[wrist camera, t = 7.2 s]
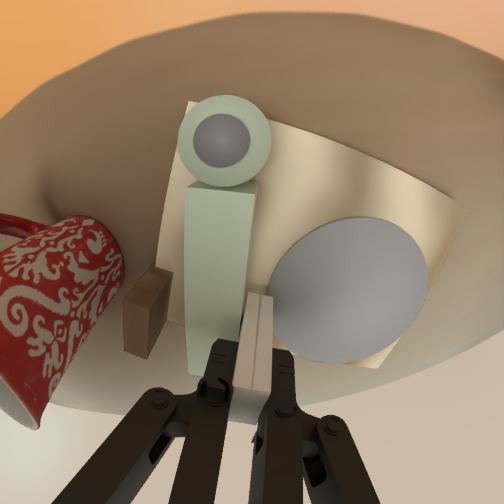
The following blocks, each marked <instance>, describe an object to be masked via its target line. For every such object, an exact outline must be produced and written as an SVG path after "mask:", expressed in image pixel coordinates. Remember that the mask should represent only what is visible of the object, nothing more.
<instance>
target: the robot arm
mask: <svg viewBox="0 0 504 504" xmlns="http://www.w3.org/2000/svg"><path fill="white" fill-rule="evenodd" d="M272 339H273V297H271V296H266V295H261V294H256V293H251V292H248V294H247V299H246V303H245V308H244V312H243V317H242V322H241V328H240V334H239V340H238V342H235V341H230V340H225V339H221V338H218V339H217V340H216V341H215V342H214V343H213V344H212V347H211V351H210V354H209V358H208V362H207V365H206V369H205V372H204V376H203V378H201V379H200V381H199V383H198V388H197V390H196V391H195V392H193V393H190V394H186V395H173V393H171V392H170V391H169V390H167V389H164V388H152V389H149V390H148V391H146V392H145V393H144V394H143V395H142V397H141V398H140V399H139V400H138V401H137V403H136V404H135V405H134V406H133V407H132V409H131V410H130V411H129V412H128V413H127V415H126V416H125V417H124V418H123V420H122V421H121V422H120V423H119V424H118V425H117V427H116V428H115V429H114V430H113V432H112V433H111V434H110V435H109V436H108V438H107V439H106V440H105V441H104V442H103V443H102V445H101V446H100V447H99V448H98V449H97V450H96V452H95V453H94V454H93V455H92V456H91V458H90V459H89V460H88V461H87V462H86V463H85V465H84V466H83V467H82V468H81V470H80V471H79V472H78V473H77V474H76V475H75V476H74V478H73V479H72V480H71V481H70V482H69V483H68V485H67V486H66V487H65V488H64V489H63V491H62V492H61V493H60V494H59V495H58V496H57V498H56V499H55V500H54V501H53V502H52V504H130V503H131V502H132V500H133V499H134V498H135V496H136V495H137V493H138V492H139V491H140V489H141V488H142V486H143V484H144V483H145V482H146V480H147V479H148V477H149V476H150V475H151V473H152V472H153V470H154V469H155V467H156V466H157V464H158V463H159V461H160V460H161V458H162V457H163V455H164V454H165V452H166V451H167V449H168V448H169V446H170V445H171V443H172V442H173V440H174V439H175V437H185V441H184V445H183V449H182V452H181V456H180V460H179V464H178V468H177V472H176V475H175V479H174V484H173V487H172V491H171V495H170V499H169V503H168V504H214V500H215V494H216V488H217V481H218V476H219V469H220V464H221V458H222V452H223V446H224V440H225V434H226V428H227V422H228V421H234V422H239V423H246V424H252V425H256V424H257V422H258V428H257V431H256V433H255V435H254V437H253V439H252V443H254V449H253V460H252V471H251V481H250V492H249V502H248V504H303V478H304V481H305V484H306V487H307V490H308V494H309V497H310V500H311V503H312V504H380V502H379V499H378V497H377V494H376V492H375V490H374V487H373V485H372V482H371V480H370V478H369V475H368V473H367V471H366V469H365V466H364V464H363V461H362V459H361V457H360V454H359V452H358V450H357V447H356V445H355V443H354V440H353V438H352V436H351V434H350V431H349V429H348V427H347V425H346V423H345V422H344V420H343V419H341V418H340V417H338V416H335V415H327V416H324V417H322V418H321V419H320V418H317V417H314V416H312V415H309V414H307V413H305V412H304V411H302V410H301V409H300V408H299V406H298V404H297V402H296V392H295V375H294V374H295V371H294V358H293V356H292V354H291V353H290V351H289V350H283V349H277V348H272Z"/></svg>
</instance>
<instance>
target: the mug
mask: <svg viewBox="0 0 504 504" xmlns="http://www.w3.org/2000/svg"><path fill="white" fill-rule="evenodd" d="M0 234H5V235H10V236H15V237H19V238H21V239H24V240H22V241H20V242H18V243H16V244H15V245H13V246H11V247H9V248H7V249H5V250H4V251H2V252H0V409H2V410H3V411H4V412H5V413H6V414H8V415H9V416H10V417H12V418H13V419H14V420H16V421H17V422H19V423H20V424H22V425H24V426H25V427H28V428H30V429H33V430H38V429H39V428H40V420H41V416H42V413H43V411H44V409H45V407H46V405H47V403H48V402H49V400H50V398H51V396H52V394H53V392H54V390H55V389H56V387H57V385H58V383H59V382H60V380H61V378H62V376H63V375H64V373H65V371H66V369H67V368H68V366H69V364H70V363H71V361H72V360H73V357H74V356H75V354H76V352H77V351H78V349H79V347H80V346H81V344H82V343H83V341H84V340H85V338H86V337H87V335H88V334H89V332H90V330H91V329H92V327H93V326H94V325H95V323H96V321H97V320H98V318H99V317H100V315H101V314H102V312H103V311H104V309H105V308H106V306H107V305H108V304H109V302H110V301H111V300H112V298H113V297H114V295H115V294H116V293H117V291H118V290H119V288H120V286H121V284H122V281H123V278H124V263H123V258H122V255H121V252H120V249H119V247H118V245H117V243H116V242H115V240H114V238H113V237H112V235H111V234H110V233H109V232H108V231H107V230H106V229H105V228H104V227H103V226H102V225H101V224H100V223H98V222H97V221H95V220H93V219H91V218H88V217H85V216H72V217H69V218H66V219H64V220H62V221H60V222H58V223H56V224H54V225H52V226H48V225H44V224H40V223H37V222H33V221H31V220H28V219H24V218H20V217H16V216H12V215H7V214H2V213H0Z"/></svg>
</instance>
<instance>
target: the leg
mask: <svg viewBox="0 0 504 504" xmlns="http://www.w3.org/2000/svg"><path fill="white" fill-rule="evenodd" d="M271 143H272V137H271V130H270V126H269V124H268V121H267V119H266V117H265V116H264V114H263V113H262V112H261V110H260V109H259V108H258V107H257V106H255V105H254V104H253V103H251V102H250V101H248V100H246V99H243V98H241V97H237V96H232V95H219V96H214V97H210V98H207V99H205V100H203V101H201V102H200V103H198V104H197V105H195V106H194V107H193V108H192V109H191V110H190V111H189V112H188V113H187V115H186V116H185V118H184V119H183V121H182V123H181V126H180V129H179V132H178V151H179V155H180V158H181V160H182V162H183V164H184V166H185V167H186V169H187V170H188V171H189V172H190V173H191V174H192V175H193V176H194V177H196V178H197V179H198V180H197V181H195V182H194V183H192V184H190V185H189V186H187V187H186V195H185V224H184V300H185V329H186V348H187V363H188V374H192V375H197V376H204V372H205V369H206V365H207V362H208V358H209V354H210V351H211V347H212V344H213V343H214V342H215V341H216V340H217V339H218V338H221V339H225V340H230V341H235V342H238V340H239V334H240V328H241V322H242V317H243V309H244V301H245V292H246V284H247V275H248V267H249V258H250V249H251V241H252V232H253V224H254V215H255V207H256V198H257V190H258V182H251V181H248V180H249V179H251V178H252V177H254V176H255V175H256V174H257V173H258V172H259V171H260V170H261V169H262V167H263V166H264V164H265V163H266V161H267V159H268V157H269V154H270V150H271Z"/></svg>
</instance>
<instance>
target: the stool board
mask: <svg viewBox="0 0 504 504" xmlns="http://www.w3.org/2000/svg"><path fill="white" fill-rule="evenodd" d="M197 104H198V103H197V102H192V101H189V102H188V106H187V109H186V113H185V116H186V115H187V113H188V112H189V111H190V110H191V109H192V108H193V107H194V106H195V105H197ZM185 116H184V118H185ZM267 121H268V124H269V126H270V130H271V137H272V143H271V150H270V154H269V157H268V159H267V161H266V163H265V164H264V166H263V167H262V169H261V170H260V171H259V172H258V173H257V174H256V175H255V176H254V177H252V178H251V179H249V180H248V181H251V182H258V190H257V198H256V207H255V215H254V224H253V232H252V241H251V249H250V258H249V267H248V275H247V284H246V292H245V301H244V308H245V303H246V299H247V294H248V292H251V293H256V294H261V295H266V296H267V289H268V285H269V282H270V278H271V276H272V274H273V272H274V270H275V268H276V266H277V264H278V263H279V261H280V260H281V258H282V257H283V256H284V254H285V253H286V252H287V251H288V250H289V248H291V247H292V246H293V245H294V244H295V243H296V242H297V241H298V240H299V239H301V238H302V237H303V236H305V235H306V234H307V233H309V232H311V231H313V230H314V229H316V228H318V227H320V226H322V225H324V224H327V223H329V222H332V221H336V220H339V219H343V218H350V217H372V218H379V219H382V220H385V221H388V222H391V223H393V224H395V225H397V226H399V227H400V228H401V229H403V230H404V231H405V232H407V233H408V234H409V235H410V236H411V237H412V238H413V239H414V240H415V241H416V243H417V244H418V246H419V247H420V249H421V251H422V253H423V255H424V257H425V261H426V264H427V270H428V286H427V293H426V296H427V294H428V292H429V290H430V289H431V287H432V285H433V283H434V281H435V280H436V278H437V276H438V274H439V272H440V270H441V268H442V266H443V264H444V262H445V260H446V258H447V256H448V254H449V252H450V250H451V248H452V245H453V243H454V241H455V239H456V237H457V234H458V232H459V230H460V227H461V225H462V222H463V220H464V217H465V215H466V212H467V210H468V209H467V208H466V207H464V206H463V205H461V204H460V203H458V202H456V201H455V200H453V199H451V198H450V197H448V196H446V195H445V194H443V193H441V192H440V191H438V190H436V189H434V188H433V187H431V186H429V185H427V184H425V183H424V182H422V181H420V180H418V179H416V178H414V177H412V176H410V175H408V174H406V173H404V172H402V171H400V170H398V169H396V168H394V167H392V166H390V165H388V164H386V163H384V162H382V161H380V160H377V159H375V158H373V157H371V156H368V155H366V154H364V153H362V152H359V151H357V150H354V149H352V148H350V147H347V146H345V145H342V144H340V143H337V142H334V141H332V140H329V139H327V138H324V137H321V136H318V135H316V134H313V133H310V132H307V131H304V130H301V129H298V128H295V127H292V126H289V125H286V124H282V123H279V122H276V121H272V120H269V119H267ZM197 180H198V179H197V178H196V177H194V176H193V175H192V174H191V173H190V172H189V171H188V170H187V169H186V167H185V166H184V164H183V162H182V160H181V158H180V155H179V151H178V144H177V148H176V152H175V156H174V161H173V165H172V170H171V174H170V179H169V184H168V189H167V194H166V200H165V205H164V211H163V216H162V222H161V229H160V235H159V242H158V249H157V256H156V261H155V262H154V263H153V264H152V265H151V267H150V268H149V269H148V270H147V271H146V272H145V274H144V275H143V276H142V277H141V279H140V280H139V281H138V282H137V283H136V285H135V286H134V287H133V288H132V290H131V291H130V292H129V293H128V294H127V296H126V297H125V298H124V300H123V330H124V351H126V352H129V353H131V354H134V355H136V356H139V357H141V358H144V359H147V358H148V356H149V354H150V352H151V350H152V348H153V346H154V344H155V342H156V340H157V338H158V336H159V334H160V332H161V330H162V328H163V326H164V324H165V322H166V320H168V321H171V322H174V323H177V324H180V325H183V326H185V300H184V224H185V195H186V187H187V186H189V185H190V184H192V183H194V182H195V181H197ZM426 296H425V297H426ZM243 312H244V309H243ZM398 340H399V338H398V339H397V340H396V341H395V342H394V343H392V344H391V345H390V346H388V347H387V348H385V349H383V350H382V351H380V352H378V353H376V354H374V355H372V356H369V357H366V358H364V359H360V360H357V361H352V362H347V363H342V364H348V365H355V366H362V367H369V368H378V367H379V366H380V364H381V363H382V362H383V360H384V359H385V358H386V356H387V355H388V354H389V352H390V351H391V350H392V348H393V347H394V345H395V344H396V343H397V341H398ZM272 348H277V349H283V350H289V349H287V348H286V347H285V346H284V345H283V344H282V343H281V342H280V341H279V340H278V338H277V337H276V336H275V334H274V332H273V339H272ZM289 351H290V350H289ZM290 353H291V354H294V355H297V354H295V353H293V352H292V351H290ZM298 356H299V355H298Z"/></svg>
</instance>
